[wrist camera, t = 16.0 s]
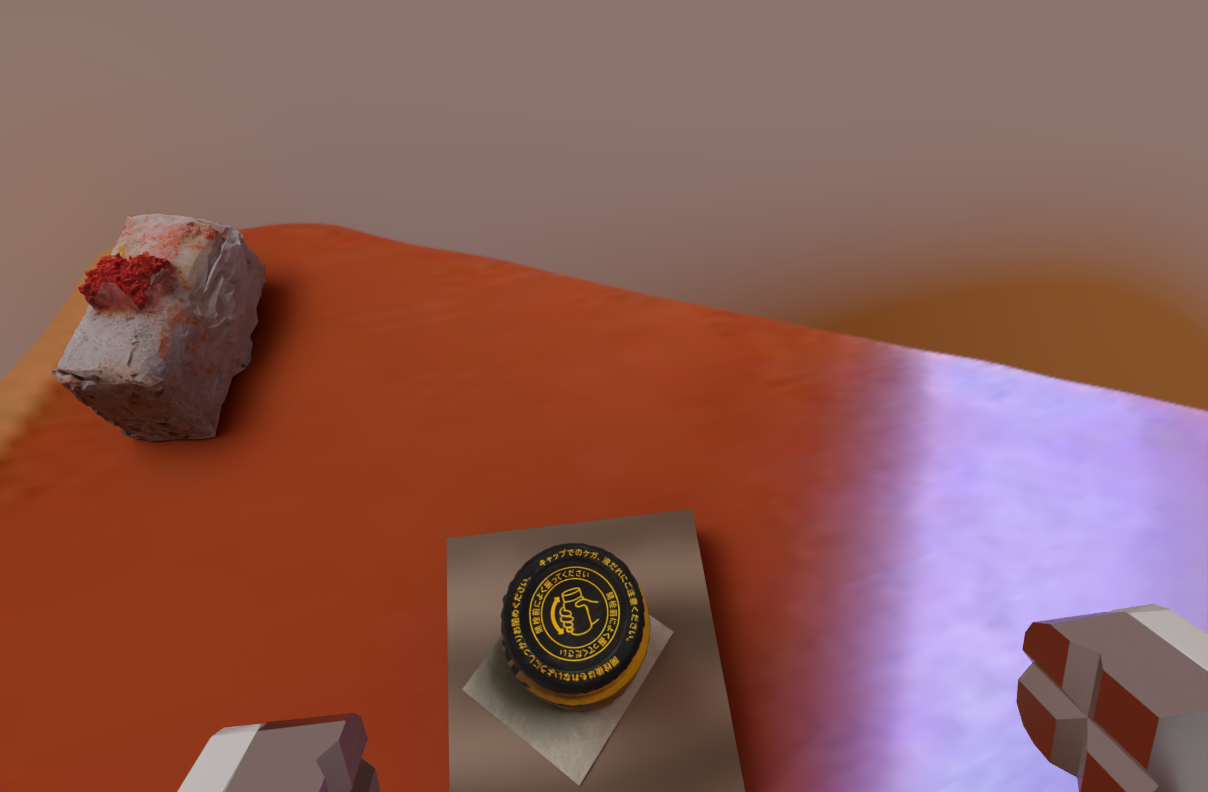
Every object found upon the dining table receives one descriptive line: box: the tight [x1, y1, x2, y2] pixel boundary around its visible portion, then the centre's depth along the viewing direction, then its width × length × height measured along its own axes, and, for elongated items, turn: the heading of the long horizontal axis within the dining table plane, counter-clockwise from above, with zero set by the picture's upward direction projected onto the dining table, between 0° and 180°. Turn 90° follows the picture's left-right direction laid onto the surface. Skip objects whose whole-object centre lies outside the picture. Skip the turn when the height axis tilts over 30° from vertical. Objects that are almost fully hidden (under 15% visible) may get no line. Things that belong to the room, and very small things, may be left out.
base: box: [447, 509, 745, 792], centre depth 35 cm, size 14×14×4 cm
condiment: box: [462, 543, 673, 785], centre depth 28 cm, size 7×8×12 cm
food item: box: [52, 214, 266, 441], centre depth 42 cm, size 14×8×10 cm, turn 0°
